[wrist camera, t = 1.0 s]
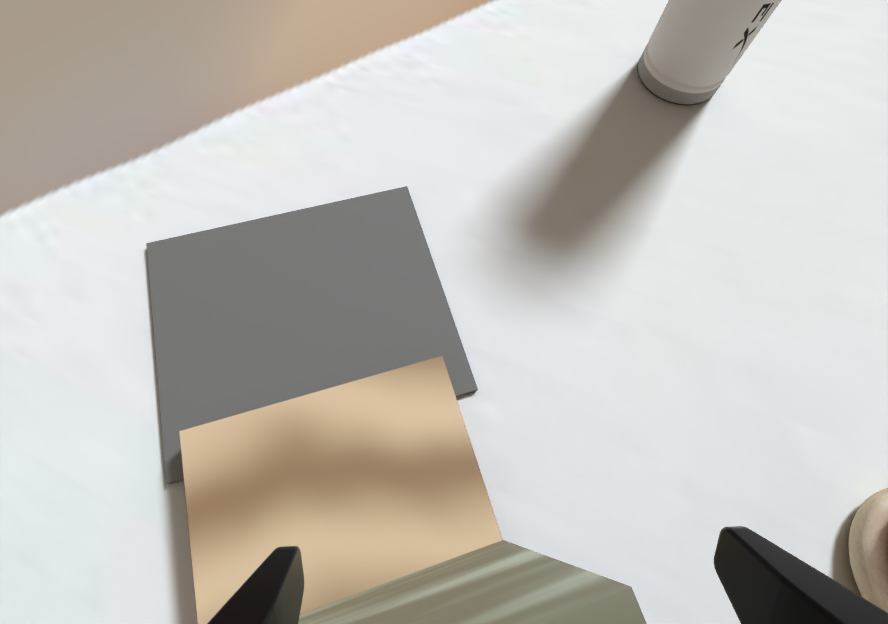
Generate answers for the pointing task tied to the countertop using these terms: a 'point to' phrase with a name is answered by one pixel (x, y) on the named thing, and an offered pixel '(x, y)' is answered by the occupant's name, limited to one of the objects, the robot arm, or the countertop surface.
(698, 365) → the countertop surface
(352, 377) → the mat
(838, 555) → the countertop surface
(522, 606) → the wooden bookend
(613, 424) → the countertop surface
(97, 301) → the countertop surface
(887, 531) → the stacking toy
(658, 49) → the travel mug
